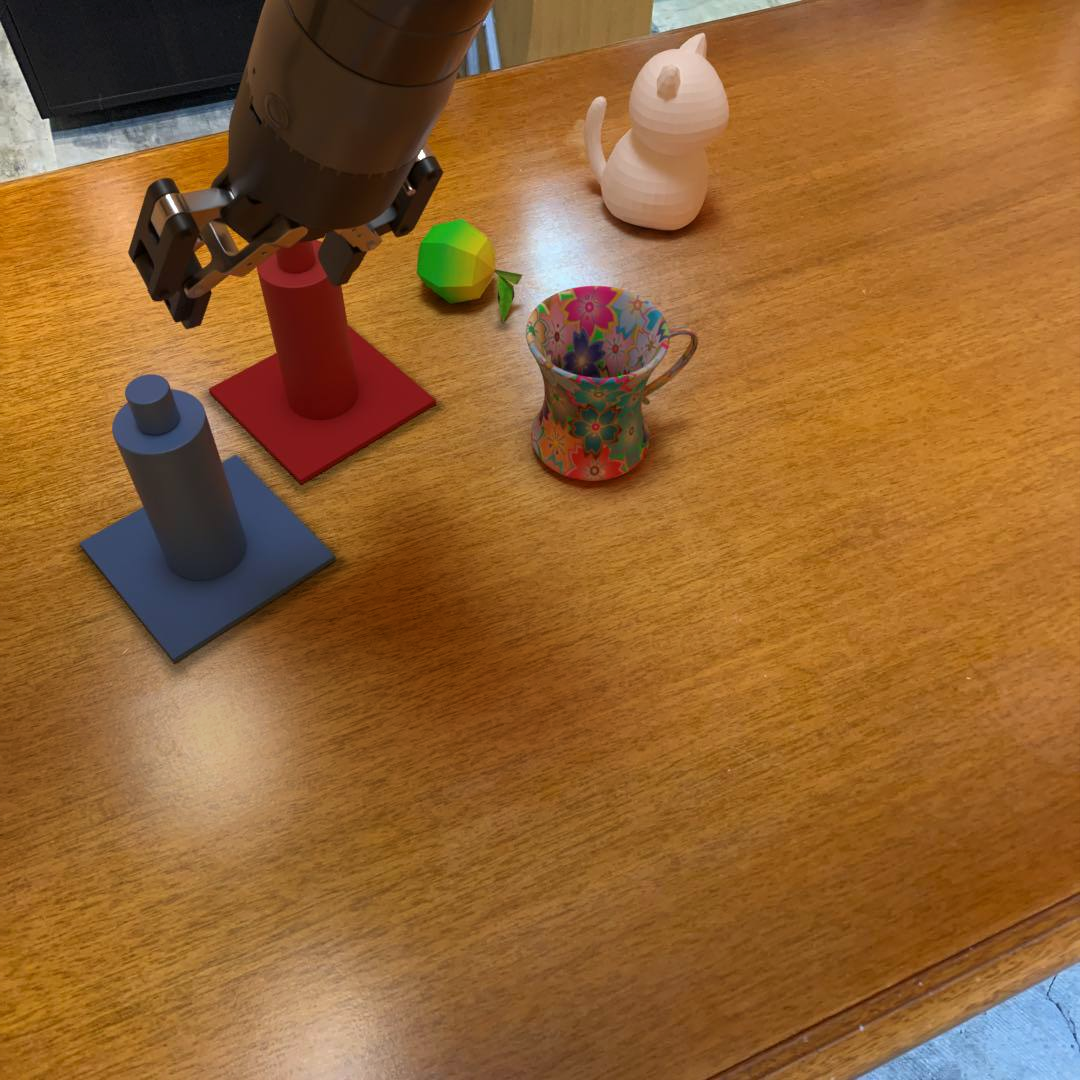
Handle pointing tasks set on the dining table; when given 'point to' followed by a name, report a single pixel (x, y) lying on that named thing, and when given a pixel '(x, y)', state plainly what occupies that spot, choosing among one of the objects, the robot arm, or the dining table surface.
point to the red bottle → (309, 332)
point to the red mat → (326, 441)
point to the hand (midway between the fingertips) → (259, 290)
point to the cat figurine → (662, 140)
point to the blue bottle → (179, 478)
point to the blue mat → (217, 604)
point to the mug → (598, 378)
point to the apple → (462, 265)
